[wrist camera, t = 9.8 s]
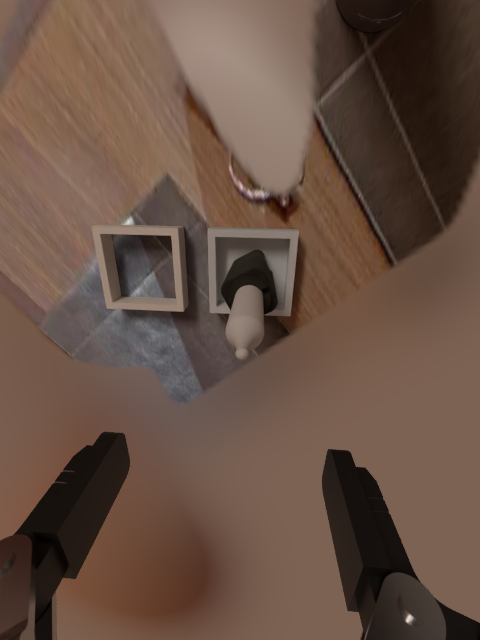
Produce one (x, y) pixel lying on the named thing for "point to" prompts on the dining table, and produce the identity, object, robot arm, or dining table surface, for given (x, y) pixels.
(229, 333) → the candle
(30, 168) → the dining table surface
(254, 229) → the grey tray
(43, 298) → the dining table surface
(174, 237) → the grey frame
